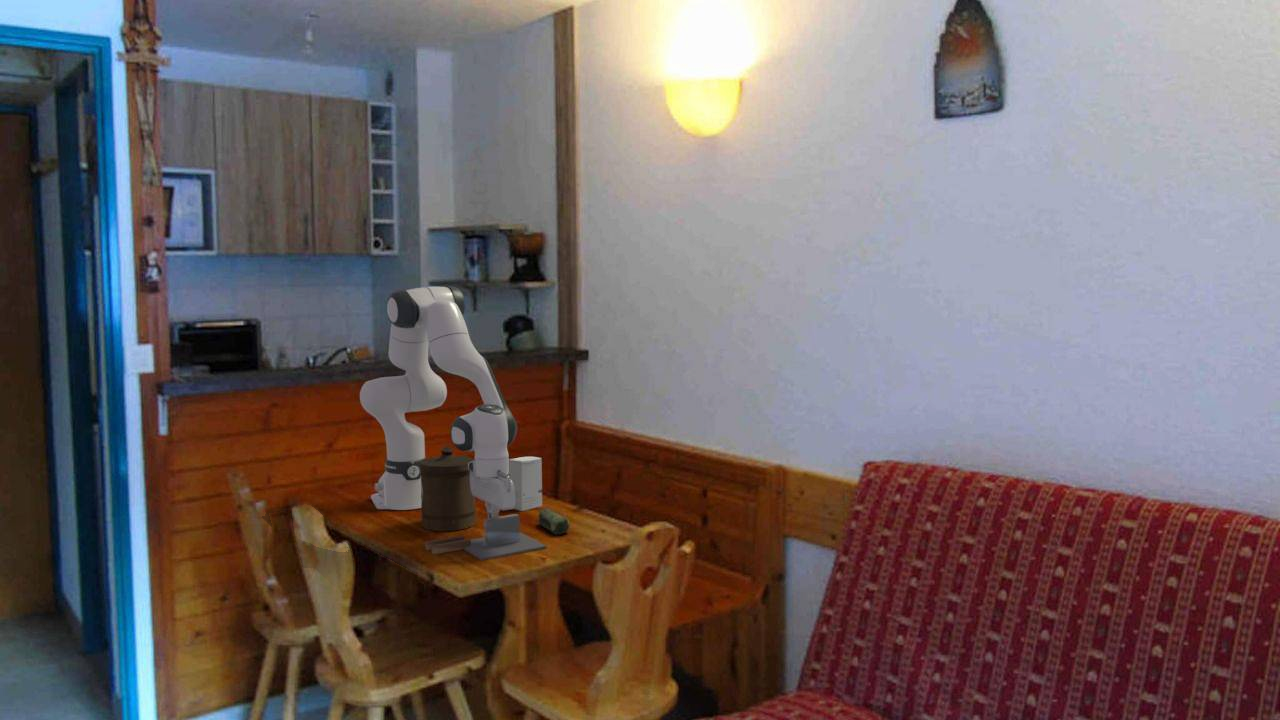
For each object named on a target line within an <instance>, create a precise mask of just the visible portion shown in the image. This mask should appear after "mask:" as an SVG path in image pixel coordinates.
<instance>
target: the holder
mask: <svg viewBox="0 0 1280 720" xmlns="http://www.w3.org/2000/svg"><path fill="white" fill-rule="evenodd" d="M470 540H471V539H469V538H466V539H465V536H464V535H462V534H461V535H455V536H449V537H444V538H443V537H442V538H438V539H433V540H427V541H425V547H424V548H425V550H426V551H430V552H431V554H432V555H434V554H435V555H440V554H445V552H446V553H450V552H455V551H461V550H464V549H463V547H466V546H471V541H470Z"/></svg>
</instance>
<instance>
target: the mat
mask: <svg viewBox="0 0 1280 720" xmlns="http://www.w3.org/2000/svg"><path fill="white" fill-rule="evenodd" d="M469 540H470V541H471V546H466V547H463V549H462V550H464V551H466V553H469V554H470V553H471V554H470V555H472V554H473V555H472V556H473V557H475V556H476V557H475V558H477V557H478V558H479V560H480V559H481V560H480V561H484V560H483V559H487V560H491V559H490V558H493V559H497V558H496V557H498V558H502V557H508V556H514V555H517V554H522V553H523V554H524V553H527V552H533V551H538V550H543V549H547V545H545V544H543V543H542V542H540V541H538V540H536V539H535V538H532V537H531V536H529V535H526V534H524V533H522V532H521V531H520V542H516V543H510V544H505V545H500V546H494V547H489V548H488V547H486V546H485V536H483V537H478V538H473V539H469ZM478 558H477V559H478Z"/></svg>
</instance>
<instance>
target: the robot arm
mask: <svg viewBox="0 0 1280 720" xmlns="http://www.w3.org/2000/svg"><path fill="white" fill-rule="evenodd" d="M465 312H466V299H465V296H464V294H463V292H462V291H461V290H460V289H459V288H458V287H455V286H450V285H443V286H423V287H415V288H410V289H406V290H405V289H400V290H396V291H393V292H392V293H390V295H389V296H388V299H387V301H386V314H387V317H388V320H389V322H390V323H391V326H390V332H389V333H390V334H389V346H388V359H389V360H390V363H392V364H393V365H394V366H395V367H397V368H398V369H400V370H403V371H405V374H403V375H397V376H396V375H395V376H393V375H392V376H384V377H377V378H374V379H373V378H372V379H371V380H367V381H365V382H364V384H363V385H362V386H361V389H360V391H359V401H360V404H361V406H362V408H363V409H364V410H365V411H366V412H367V413H368V414H370V415H371V416H373V418H375V420H377V422H378V423H379V424H380V426H381V427H382V430H383V432H384V437H385V444H386V459H385V463H384V470H385V472H383V474H382V475H381V476H380V478H379V479H378V481H377V483H374V490H375V491H376V492H378V493H374V494H371V496H370V500H371V501H372V503H373V505H374V506H375V508H376V509H377V510H392V511H408V510H417V509H421V461H422V460H424V459H426V458H427V457H426V449H425V448H426V447H425V446H426V445H425V433H424V431H423V429H422V428H420V426H417V425H415V424H413V423H411V422H409V421H407V420H406V417H405V414H407V413H412V412H425V411H429V410H433V409H436V408H440V407H441V406H442V405H443V404H444V403H445V401H446V399H447V396H448V389H447V384H446V382H445V381H444V380H443V379H442V377H441V376H440V375H437V373H435V371H433V370H432V368H431V365H430V363H429V351H430V355H431V358H432V359H433V362H434V364H435V365H436V366H437V367H438V368H440V369H441V370H443V371H444V372H446V373H449V374H452V375H457V376H459V377H462V378H465V379H467V380H469V381H470V382H471V383H473V384H474V385H475V386H476V388H477V390H478V392H479V395H480V397H481V400H482V401H483V404H479V405H478V406H476V407H475V408H474V410H473V411H472V412H470V413H467V414H464V415H461V416H457V417H456V418H455V419H454V421H453V422H452V424H451V426H450V431H449V432H450V433H449V435H450V439H451V440H450V441H451V443H452V444H453V446H454V447H455V448H456V449H457V450H459V451H461V452H472V451H473V452H474V458H473V460H474V461H471V462H469V463H468V470H470V489H471V493H472V495H473V496H475V498H477V499H479V500H481V501H483V502H484V505H485V508H486V511H487V519H488V518H494V517H500V516H499V513H500V511H508V510H513V509H514V507H515V492H514V485H513V482H512V480H511V479H509V460H510V458H509V457H510V456H509V455H510V454H509V451H508V447H509V446H510V445H511V444H512V443H513V442H514V440H515V438H516V436H517V434H518V424H517V420H516V419H515V417H514V415H513V414H512V412H511V410H510V408H509V407H508V405H507V403H506V401H505V398H504V395H503V393H502V391H501V389H500V387H499V384H498V383H499V382H498V381H497V379H496V377H495V375H494V372H493V370H492V369H493V368H491V366H490V363H489V362H488V360H487V358H485V357H484V356H483V355H481V354H480V353H479V351H478V350H477V348H475V346H474V344H473V342H472V340H471V337H470V333H469V330H468V326H467V324H466V321H465V319H464V314H465ZM514 510H515V509H514Z"/></svg>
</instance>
